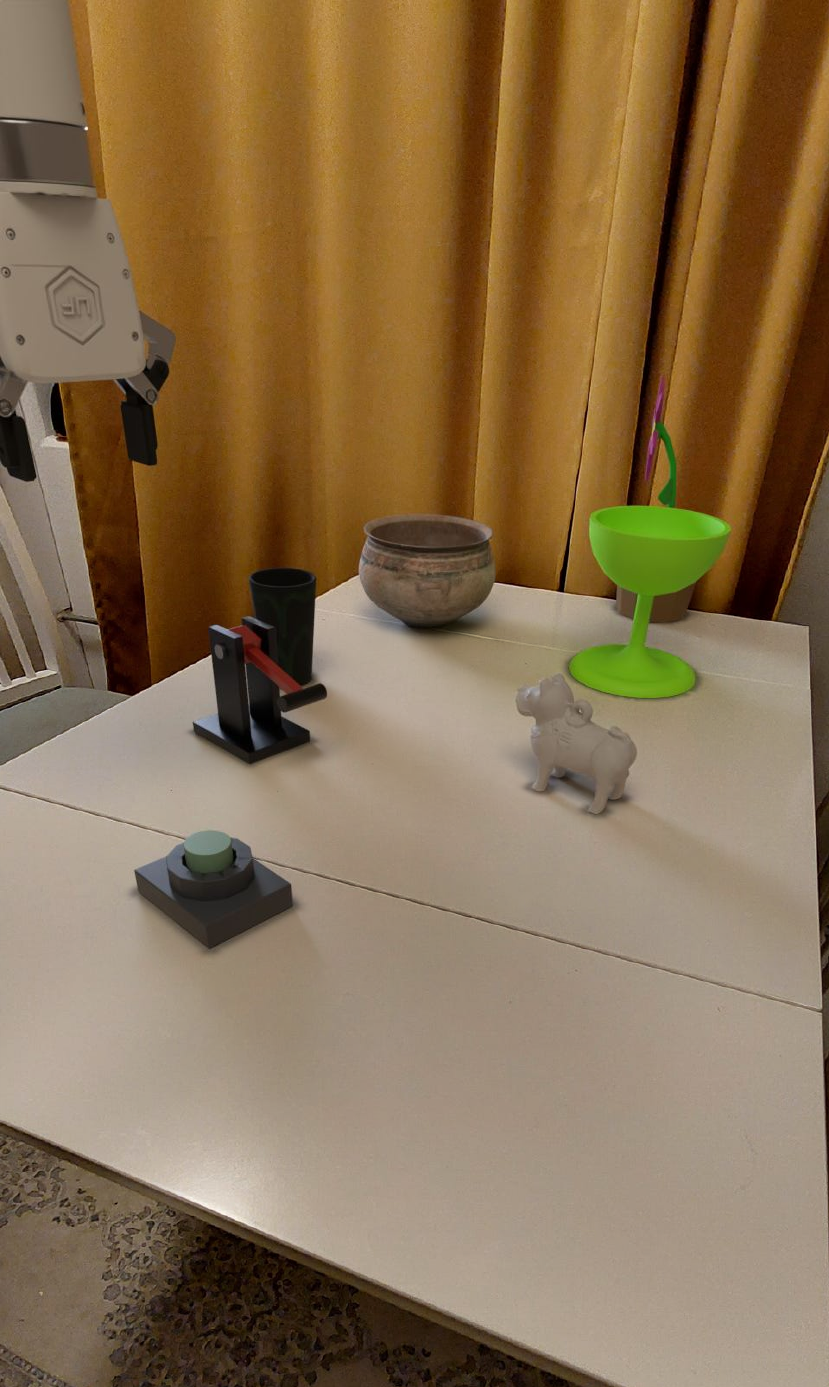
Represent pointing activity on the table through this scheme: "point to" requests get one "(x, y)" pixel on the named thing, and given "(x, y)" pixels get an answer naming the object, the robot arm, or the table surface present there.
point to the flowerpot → (677, 602)
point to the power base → (214, 893)
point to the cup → (288, 615)
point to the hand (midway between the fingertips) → (85, 470)
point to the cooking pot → (427, 567)
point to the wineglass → (647, 591)
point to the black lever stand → (238, 721)
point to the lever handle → (278, 674)
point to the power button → (208, 851)
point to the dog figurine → (574, 740)
